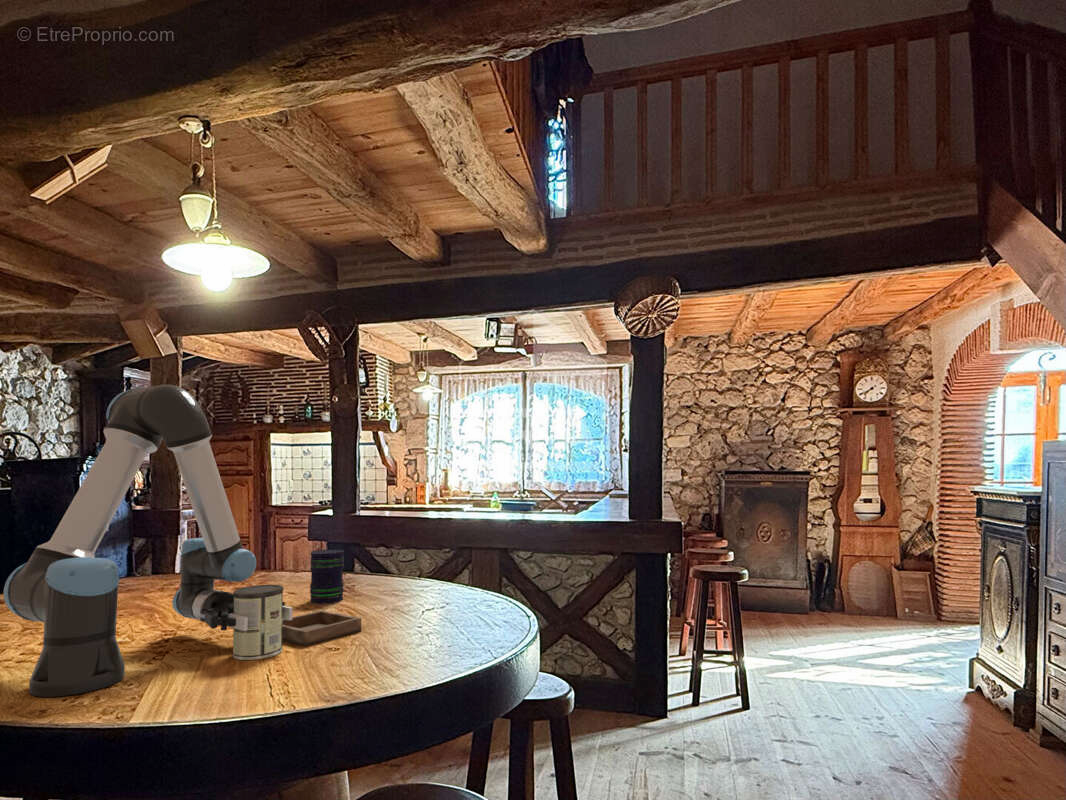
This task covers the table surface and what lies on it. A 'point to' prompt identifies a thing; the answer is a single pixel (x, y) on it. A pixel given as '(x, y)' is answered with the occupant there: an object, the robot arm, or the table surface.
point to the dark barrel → (326, 576)
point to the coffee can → (258, 622)
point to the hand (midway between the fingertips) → (269, 618)
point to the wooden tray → (318, 627)
